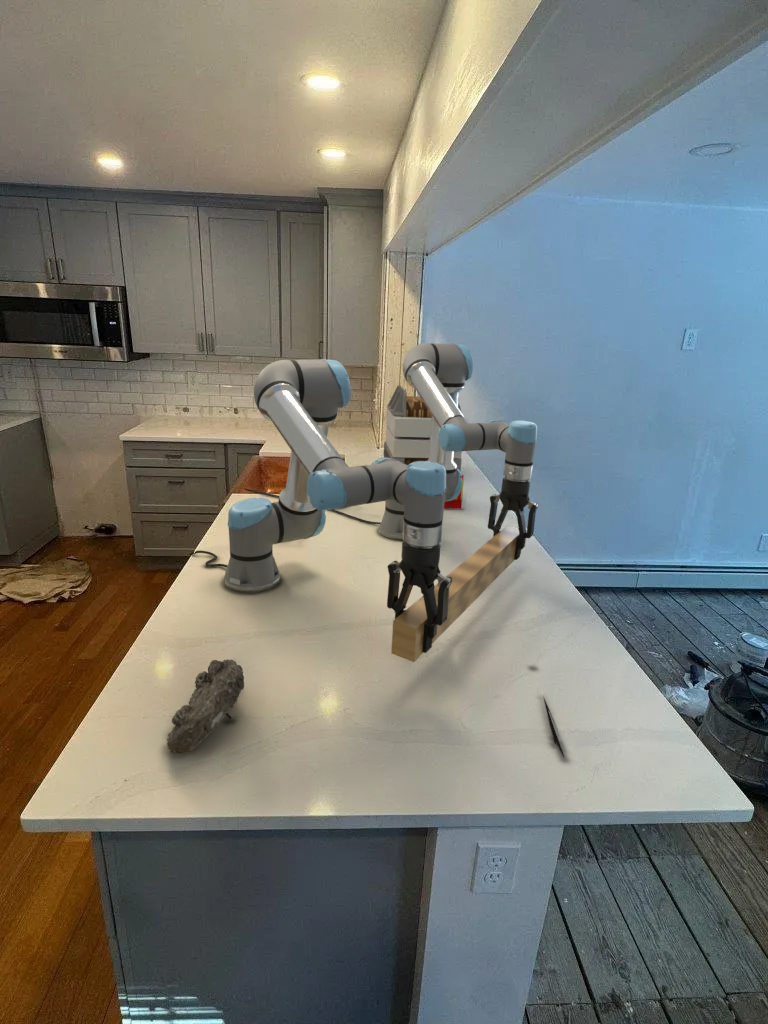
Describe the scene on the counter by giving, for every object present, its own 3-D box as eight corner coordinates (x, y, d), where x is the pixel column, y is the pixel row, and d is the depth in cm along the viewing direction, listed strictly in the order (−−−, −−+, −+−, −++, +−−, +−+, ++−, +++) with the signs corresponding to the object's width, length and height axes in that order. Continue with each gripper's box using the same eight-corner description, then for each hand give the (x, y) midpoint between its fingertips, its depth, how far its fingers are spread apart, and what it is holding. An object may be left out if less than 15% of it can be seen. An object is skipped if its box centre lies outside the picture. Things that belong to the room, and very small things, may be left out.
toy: (456, 466, 252) (467, 476, 223) (454, 496, 255) (465, 509, 225) (428, 465, 252) (437, 475, 222) (427, 495, 254) (435, 508, 225)
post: (503, 549, 169) (506, 525, 166) (521, 553, 166) (524, 529, 164) (391, 653, 115) (393, 620, 113) (413, 662, 113) (416, 628, 110)
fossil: (192, 660, 117) (244, 628, 112) (224, 691, 120) (276, 661, 115) (142, 746, 98) (202, 712, 93) (182, 779, 101) (242, 748, 96)
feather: (533, 672, 128) (539, 666, 127) (564, 762, 101) (571, 754, 101) (527, 668, 128) (533, 662, 127) (556, 757, 101) (563, 750, 100)
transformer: (382, 463, 289) (386, 382, 275) (445, 464, 293) (451, 384, 279) (390, 482, 257) (394, 392, 243) (460, 483, 261) (468, 394, 247)
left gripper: (371, 536, 111) (367, 638, 119) (456, 560, 103) (446, 668, 110) (391, 525, 117) (386, 623, 125) (473, 547, 109) (462, 650, 117)
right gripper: (480, 475, 157) (472, 551, 165) (545, 487, 148) (533, 568, 156) (490, 469, 163) (482, 543, 171) (553, 481, 154) (542, 559, 162)
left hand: (414, 644), depth 118 cm, fingers closed on post, 5 cm apart
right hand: (506, 555), depth 163 cm, fingers closed on post, 5 cm apart
